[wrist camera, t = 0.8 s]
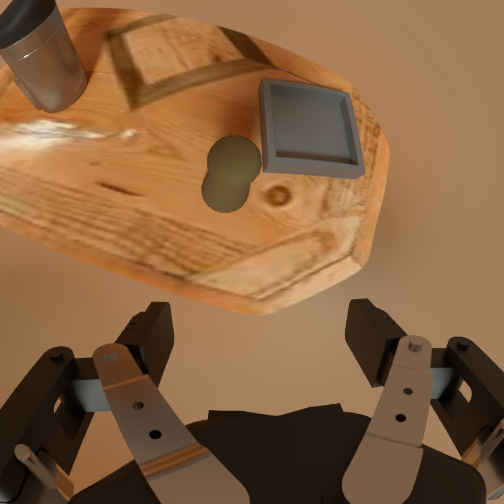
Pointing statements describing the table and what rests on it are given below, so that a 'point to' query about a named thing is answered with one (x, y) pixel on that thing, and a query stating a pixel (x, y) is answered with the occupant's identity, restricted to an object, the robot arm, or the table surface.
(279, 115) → the tray
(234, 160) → the cork
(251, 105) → the table surface
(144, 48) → the table surface
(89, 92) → the table surface
